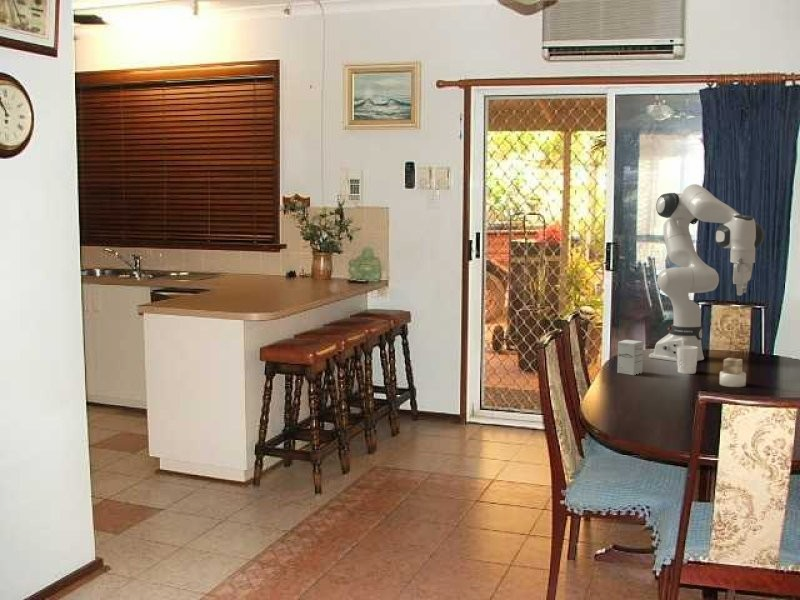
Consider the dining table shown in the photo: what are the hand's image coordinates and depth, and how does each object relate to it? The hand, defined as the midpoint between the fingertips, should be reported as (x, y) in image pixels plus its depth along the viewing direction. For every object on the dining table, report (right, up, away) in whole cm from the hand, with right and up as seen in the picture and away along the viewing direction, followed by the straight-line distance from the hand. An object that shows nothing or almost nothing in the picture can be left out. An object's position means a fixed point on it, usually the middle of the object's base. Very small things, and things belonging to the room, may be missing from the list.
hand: (741, 294), depth 335 cm
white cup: (-18, -31, +9) cm, 37 cm away
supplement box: (-40, -31, +9) cm, 52 cm away
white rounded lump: (-9, -33, -14) cm, 37 cm away
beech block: (-9, -29, -15) cm, 34 cm away
